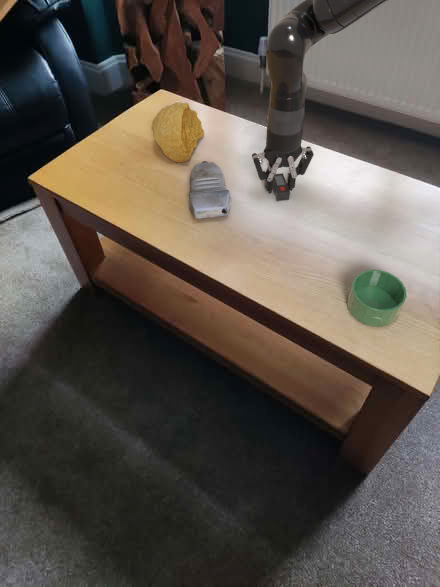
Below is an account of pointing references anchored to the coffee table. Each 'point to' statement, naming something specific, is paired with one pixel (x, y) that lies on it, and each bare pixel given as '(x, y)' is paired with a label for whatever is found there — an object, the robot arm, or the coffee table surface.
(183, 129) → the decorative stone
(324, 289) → the coffee table surface
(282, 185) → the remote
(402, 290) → the bowl
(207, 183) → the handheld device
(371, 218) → the coffee table surface
